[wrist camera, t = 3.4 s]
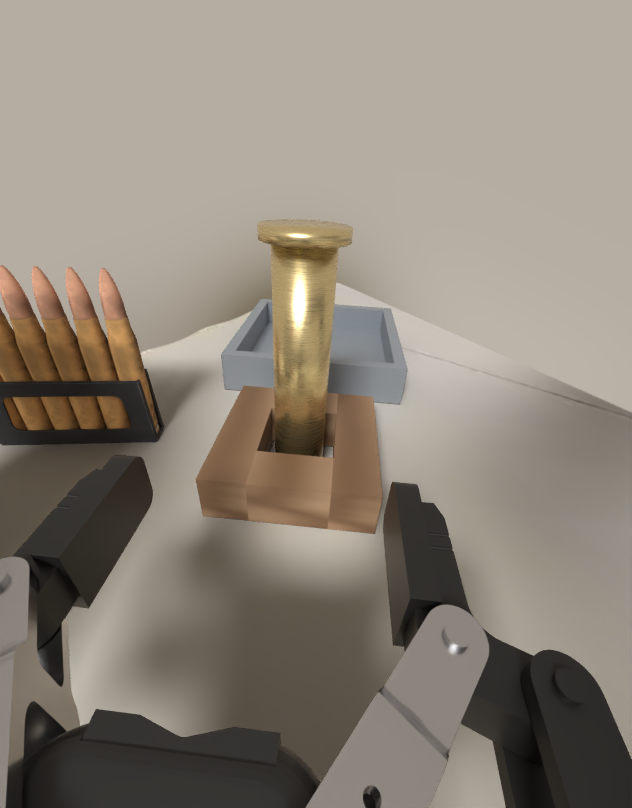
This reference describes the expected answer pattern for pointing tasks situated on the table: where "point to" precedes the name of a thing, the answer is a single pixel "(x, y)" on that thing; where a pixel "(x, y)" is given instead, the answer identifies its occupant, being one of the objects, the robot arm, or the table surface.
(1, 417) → the ammunition clip
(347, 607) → the table surface
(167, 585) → the table surface
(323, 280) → the pin
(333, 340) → the slate tray
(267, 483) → the socket block
